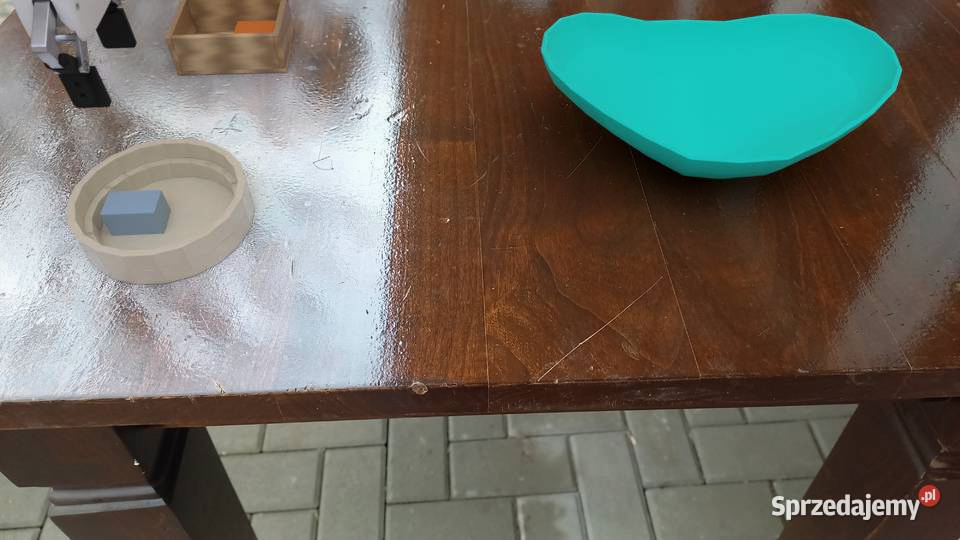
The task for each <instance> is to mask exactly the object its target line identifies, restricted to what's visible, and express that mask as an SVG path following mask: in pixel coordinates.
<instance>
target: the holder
mask: <svg viewBox="0 0 960 540" xmlns="http://www.w3.org/2000/svg"><path fill="white" fill-rule="evenodd" d="M290 6H291V5H290V1H289V0H179V3H178V5H177V7H176V10H175V12H174V15H173V17H172V20H171V23H170V25H169V27H168V30H167V32H166V35H165V37H164V40H165V42H166V45H167V49H168V51H169V53H170V56H171V59H172V61H173V64H174V67H175V69H176V73H177V75H178V76H198V75H199V76H201V75H203V76H204V75H237V74H239V75H241V74H274V73H275V74H276V73H288V68H289V63H290V57H291V53H292V47H293V42H294V37H295V31H296V30H295V26H294V20H293V16H292V12H291V7H290ZM273 20H276V24H275V28H274V32H273V33H242V34H234V31H235V28H236V25H237V21H273Z"/></svg>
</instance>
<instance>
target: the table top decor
mask: <svg viewBox="0 0 960 540" xmlns="http://www.w3.org/2000/svg"><path fill="white" fill-rule="evenodd" d="M540 52H541V55H542V58H543V62H544V66H545V67H546V70H547V73H548V74H549V76H550V78H551V81H552V83H553V84H554V85H555V86H556V87H557V88H558V89H559V90H560V91H561V92H562V93H563V94H564V95H565V96H566V97H567V98H568V99H569V100H570V101H571V102H573V104H575V105H576V106H577V107H578V109H580V110H581V111H583V112H584V113H585V114H586V116H588V117H590V118H591V119H592V120H594V121H595V122H596V123H598V125H601V126H602V128H605V129H606V130H607V131H609V132H610V133H611V134H612V135H614V136H616V137H617V138H619V139H620V140H622V141H623V142H625V143H627V144H628V145H630V146H631V147H633V148H634V149H635V150H637V151H639V152H640V153H642V154H644V155H645V156H646V157H649V158H650V159H652V160H654V161H656V162H658V163H660V164H661V165H664V166H665V167H667V168H669V169H671V170H673V172H676V173H677V174H680V175H682V176H686V177H694V178H704V179H712V180H713V179H715V180H725V179H735V178H746V177H758V176H759V177H760V176H767V175H770V174H772V173H775V172H778V171H780V170H782V169H785V168H787V167H789V166H791V165H793V164H796V163H798V162H800V161H802V160H804V159H806V158H808V157H811V156H812V155H813V156H814V155H815V154H817V153H819V152H822V151H824V150H825V149H827V148H828V147H831V146H832V145H833V144H835V143H836V142H838V141H840V140H841V139H842V138H844V137H845V136H846V135H848V134H850V133H852V132H853V131H854V130H856V129H857V128H859V127H860V126H861V125H863V124H864V123H865V122H866V121H867V120H868V119H870V117H872V115H874V114H875V113H876V112H877V111H878V110H879V109H880V108H881V107H882V105H883V104H884V103H885V102H886V101H887V100H888V99H889V98H890V97H891V96H892V95H893V94H894V93H895V92H896V91H897V87H898V86H899V85H898V84H899V81H900V78H901V75H902V72H903V68H902V66H901V64H900V60H899V58H898V56H897V53H896V50H895V49H894V48H893V47H891V45H890V44H888V43H887V41H885V40H884V39H883V38H882V37H881V36H880V35H879V34H878V33H877V32H876V31H873V30H871V29H869V28H867V27H865V26H863V25H860V24H858V23H856V22H854V21H852V20H849V19H846V18H842V17H841V18H840V17H835V16H828V15H821V14H817V13H774V14H769V13H768V14H763V15H756V16H750V17H744V18H738V19H731V20H700V19H698V20H697V19H669V20H668V19H667V20H666V19H665V20H663V19H661V20H644V19H639V18H634V17H630V16H625V15H620V14H616V13H607V12H605V13H604V12H580V13H575V14H572V15H567V16H564V17H560V18H559V19H557V21H555V22H554V23H553V24H552V25H551V26H550V27H549V28H548V29H546V31H545V32H544V33H543V38H542V43H541V47H540Z"/></svg>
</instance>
